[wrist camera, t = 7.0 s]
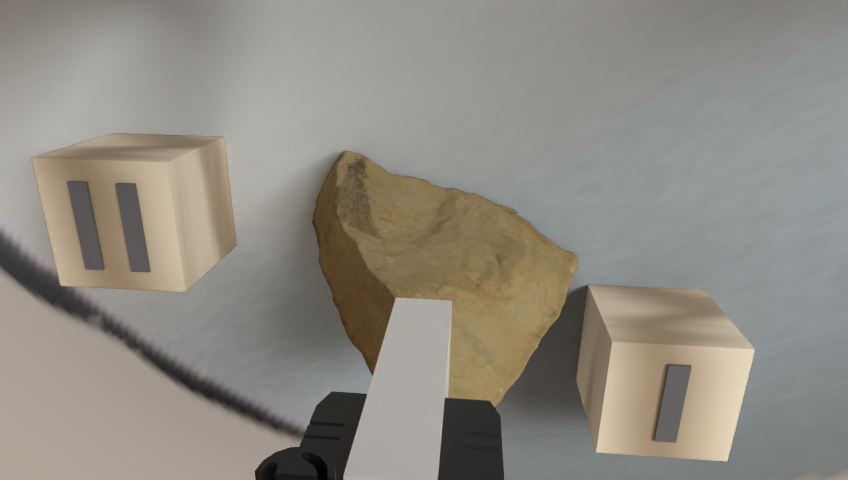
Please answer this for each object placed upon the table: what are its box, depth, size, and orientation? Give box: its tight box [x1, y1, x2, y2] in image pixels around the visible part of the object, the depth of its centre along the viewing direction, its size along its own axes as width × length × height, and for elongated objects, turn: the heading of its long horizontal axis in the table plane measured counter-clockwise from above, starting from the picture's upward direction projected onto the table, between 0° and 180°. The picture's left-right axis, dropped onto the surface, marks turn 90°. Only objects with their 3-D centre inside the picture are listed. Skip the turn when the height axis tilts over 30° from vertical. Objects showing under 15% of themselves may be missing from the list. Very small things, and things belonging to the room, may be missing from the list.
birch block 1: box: [31, 133, 237, 292], centre depth 23 cm, size 5×5×5 cm
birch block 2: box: [576, 285, 755, 461], centre depth 24 cm, size 5×5×5 cm
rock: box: [312, 151, 578, 408], centre depth 22 cm, size 11×9×10 cm
